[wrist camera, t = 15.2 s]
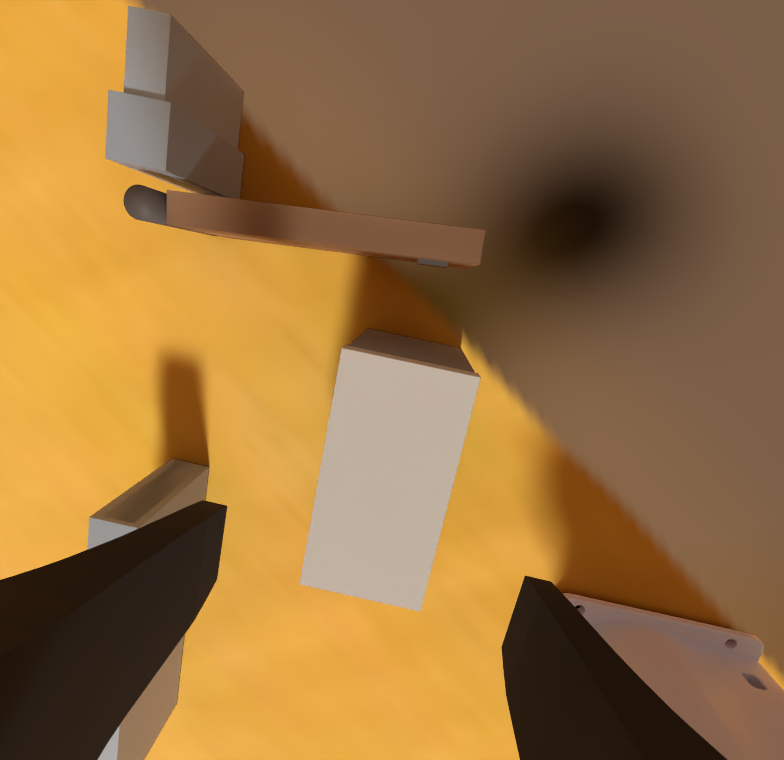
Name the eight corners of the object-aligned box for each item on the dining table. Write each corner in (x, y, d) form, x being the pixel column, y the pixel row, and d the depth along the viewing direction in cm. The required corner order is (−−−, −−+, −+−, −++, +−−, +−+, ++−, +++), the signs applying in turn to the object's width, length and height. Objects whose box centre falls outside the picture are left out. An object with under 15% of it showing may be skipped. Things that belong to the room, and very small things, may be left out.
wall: (251, 92, 17) (177, 11, 12) (182, 704, 24) (116, 820, 19) (206, 83, 17) (112, -2, 12) (149, 697, 24) (76, 810, 19)
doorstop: (462, 346, 18) (480, 377, 13) (421, 515, 20) (420, 611, 14) (367, 326, 19) (341, 347, 13) (335, 496, 20) (299, 584, 15)
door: (203, 205, 18) (123, 177, 13) (470, 238, 17) (488, 223, 13) (202, 238, 18) (123, 223, 13) (464, 272, 18) (480, 268, 13)
